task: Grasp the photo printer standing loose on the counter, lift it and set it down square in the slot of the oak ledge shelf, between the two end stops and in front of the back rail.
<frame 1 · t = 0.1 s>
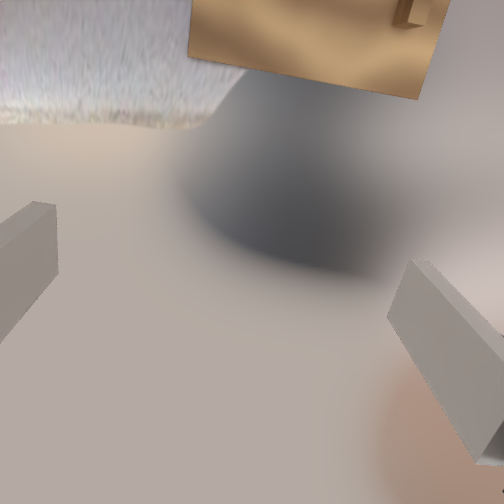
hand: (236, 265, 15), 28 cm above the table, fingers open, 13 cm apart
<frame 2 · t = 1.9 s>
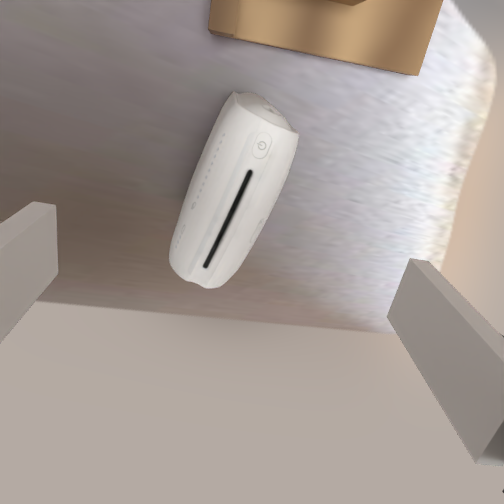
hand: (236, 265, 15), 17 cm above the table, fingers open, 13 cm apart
photo printer: (229, 158, 30), on the table
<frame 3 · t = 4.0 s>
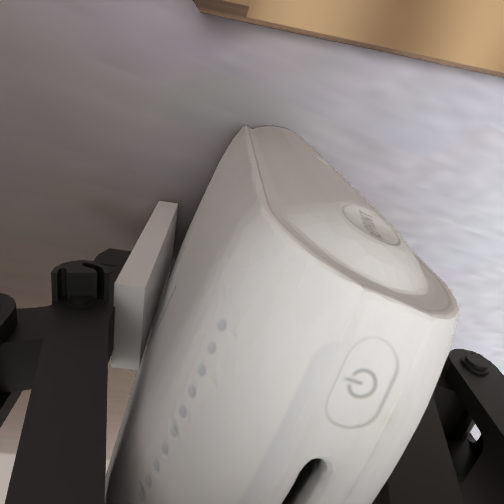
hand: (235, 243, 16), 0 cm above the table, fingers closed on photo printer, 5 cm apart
photo printer: (235, 238, 17), on the table, touching gripper
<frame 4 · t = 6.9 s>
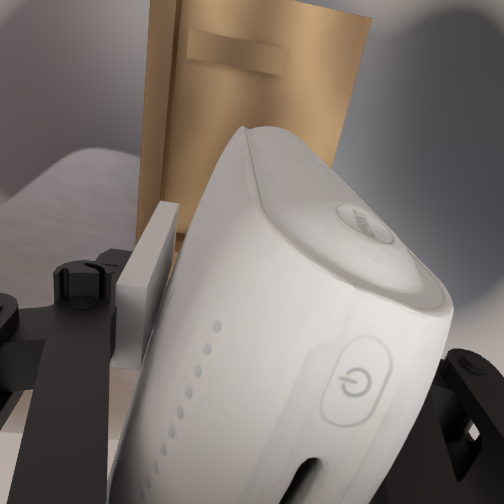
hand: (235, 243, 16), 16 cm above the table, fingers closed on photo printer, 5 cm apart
photo printer: (235, 238, 17), point 16 cm above the table, touching gripper
ledge shelf: (240, 158, 31), on the table
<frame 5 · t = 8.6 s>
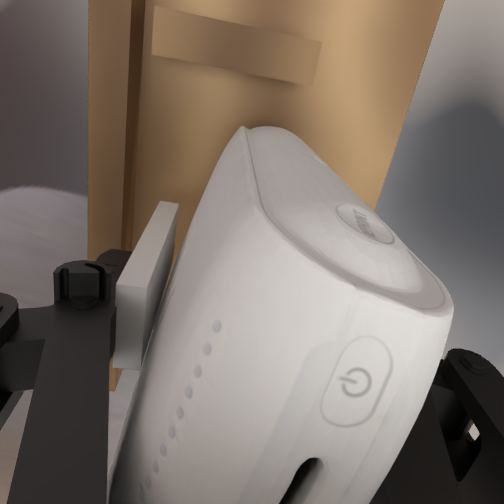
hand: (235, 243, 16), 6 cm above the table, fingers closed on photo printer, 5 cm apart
photo printer: (235, 238, 17), point 5 cm above the table, touching gripper
ledge shelf: (241, 200, 22), on the table
when the fingers open (3 cm above the table, at t = 10.0 s): photo printer stays where it is, resting on ledge shelf.
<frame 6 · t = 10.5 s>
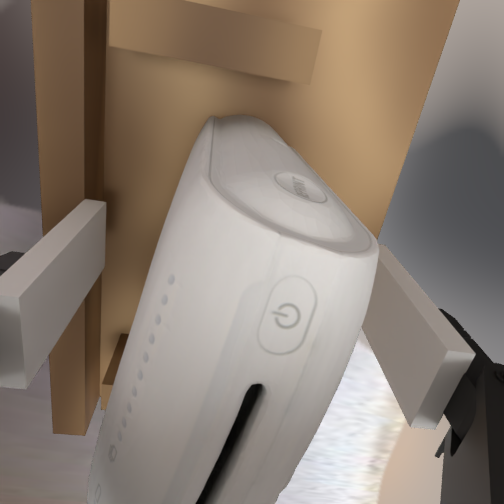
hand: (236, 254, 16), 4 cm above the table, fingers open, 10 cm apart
photo printer: (215, 224, 18), point 1 cm above the table, touching ledge shelf
ledge shelf: (228, 216, 19), on the table
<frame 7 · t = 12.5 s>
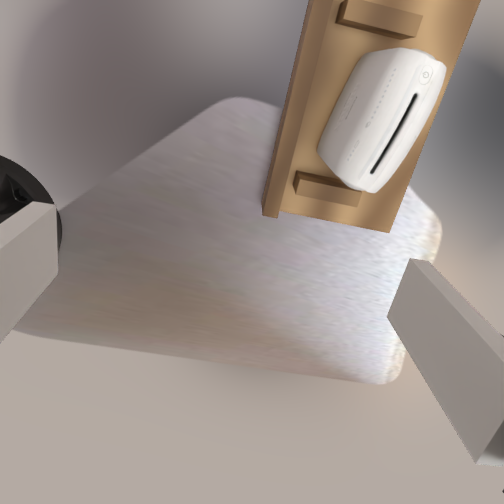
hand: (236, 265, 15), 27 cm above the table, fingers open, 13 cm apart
photo printer: (353, 111, 37), point 1 cm above the table, touching ledge shelf
ledge shelf: (356, 111, 38), on the table
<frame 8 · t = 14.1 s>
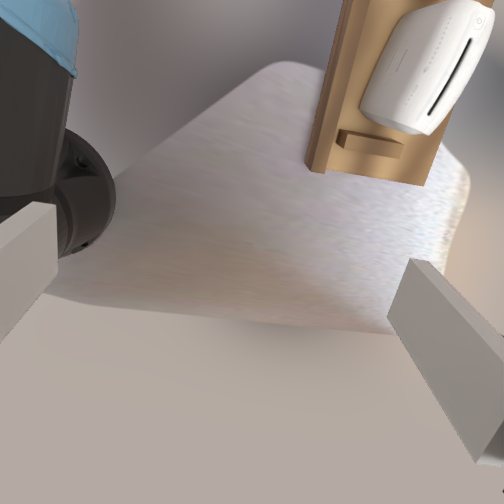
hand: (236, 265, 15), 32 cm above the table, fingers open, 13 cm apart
photo printer: (392, 70, 40), point 1 cm above the table, touching ledge shelf
ledge shelf: (393, 71, 41), on the table
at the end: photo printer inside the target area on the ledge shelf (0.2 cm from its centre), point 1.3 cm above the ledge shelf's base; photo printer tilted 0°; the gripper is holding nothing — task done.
